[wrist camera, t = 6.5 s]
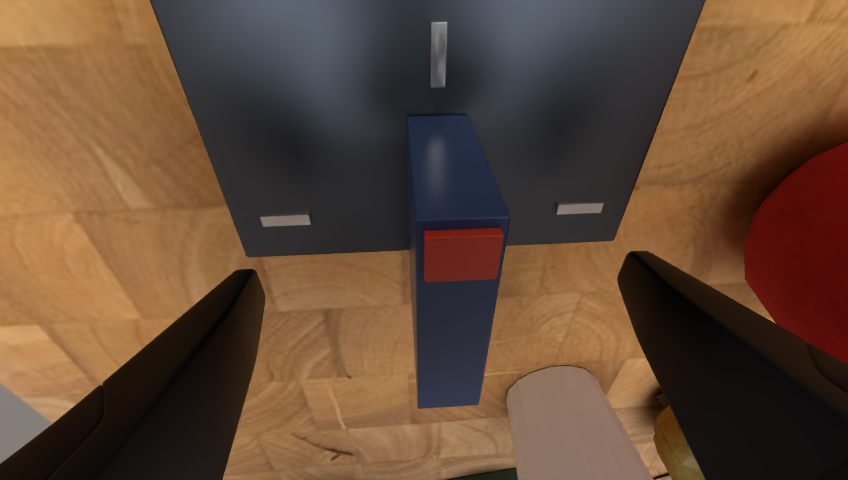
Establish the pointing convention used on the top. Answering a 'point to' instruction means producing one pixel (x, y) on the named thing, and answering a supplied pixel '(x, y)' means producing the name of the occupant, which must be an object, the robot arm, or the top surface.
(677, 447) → the lucky beckoning cat
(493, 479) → the button base
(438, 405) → the tap handle
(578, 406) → the white cup
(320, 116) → the tap plate
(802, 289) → the apple
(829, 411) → the robot arm
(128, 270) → the top surface
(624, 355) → the top surface
